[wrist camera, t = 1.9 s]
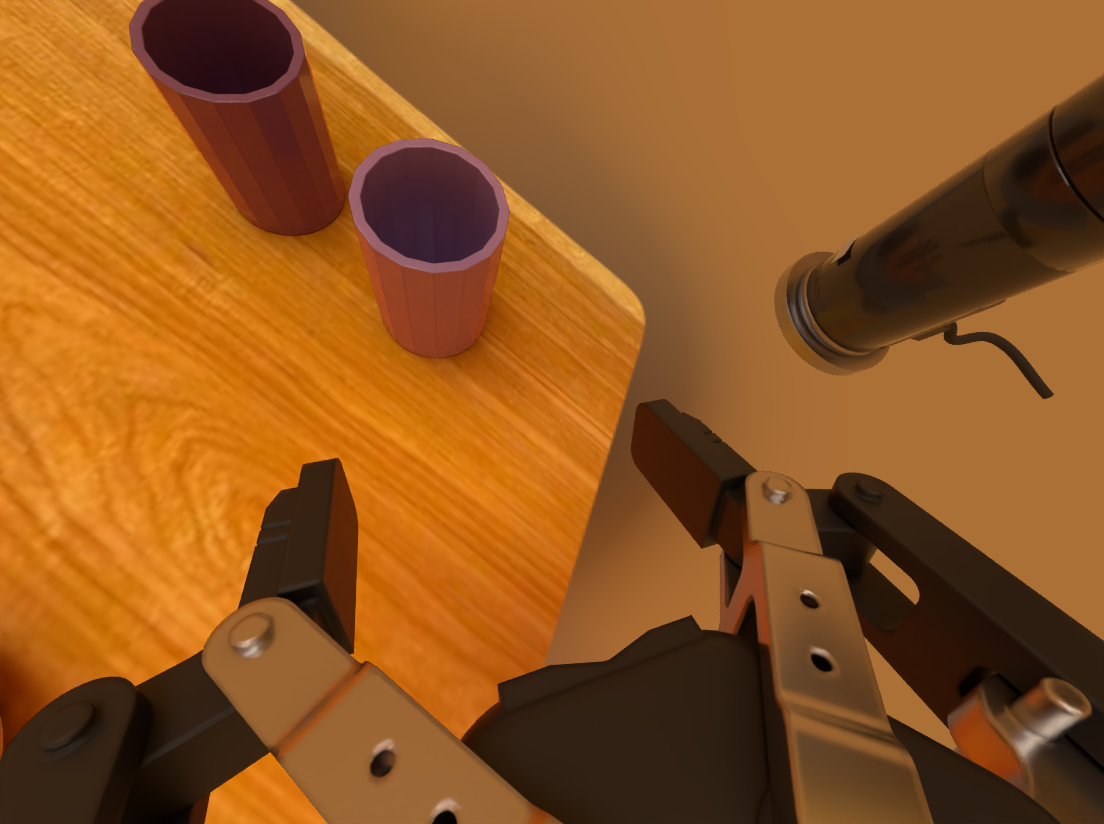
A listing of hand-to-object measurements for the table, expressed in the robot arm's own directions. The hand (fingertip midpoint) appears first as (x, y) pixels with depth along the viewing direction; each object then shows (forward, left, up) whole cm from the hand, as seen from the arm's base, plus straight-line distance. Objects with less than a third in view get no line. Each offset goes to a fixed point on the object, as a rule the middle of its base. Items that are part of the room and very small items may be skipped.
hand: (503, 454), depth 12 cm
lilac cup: (+4, -11, -15) cm, 19 cm away
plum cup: (+14, -17, -15) cm, 26 cm away
